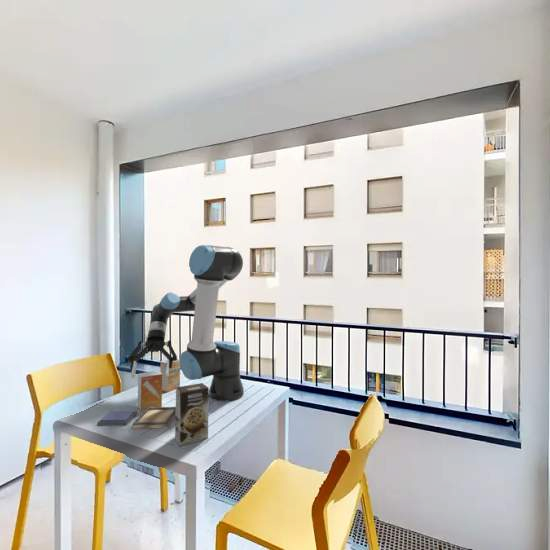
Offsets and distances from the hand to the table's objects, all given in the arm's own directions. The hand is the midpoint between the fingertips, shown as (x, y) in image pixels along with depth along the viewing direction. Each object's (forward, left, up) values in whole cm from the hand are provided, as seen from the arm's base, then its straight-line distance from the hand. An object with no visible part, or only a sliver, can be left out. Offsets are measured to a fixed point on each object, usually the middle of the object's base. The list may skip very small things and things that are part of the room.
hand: (150, 375), depth 131 cm
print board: (-9, +17, -11) cm, 22 cm away
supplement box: (-4, -15, -11) cm, 19 cm away
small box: (-2, +5, -11) cm, 12 cm away
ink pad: (+5, +17, -11) cm, 21 cm away
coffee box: (-25, +31, -11) cm, 41 cm away
